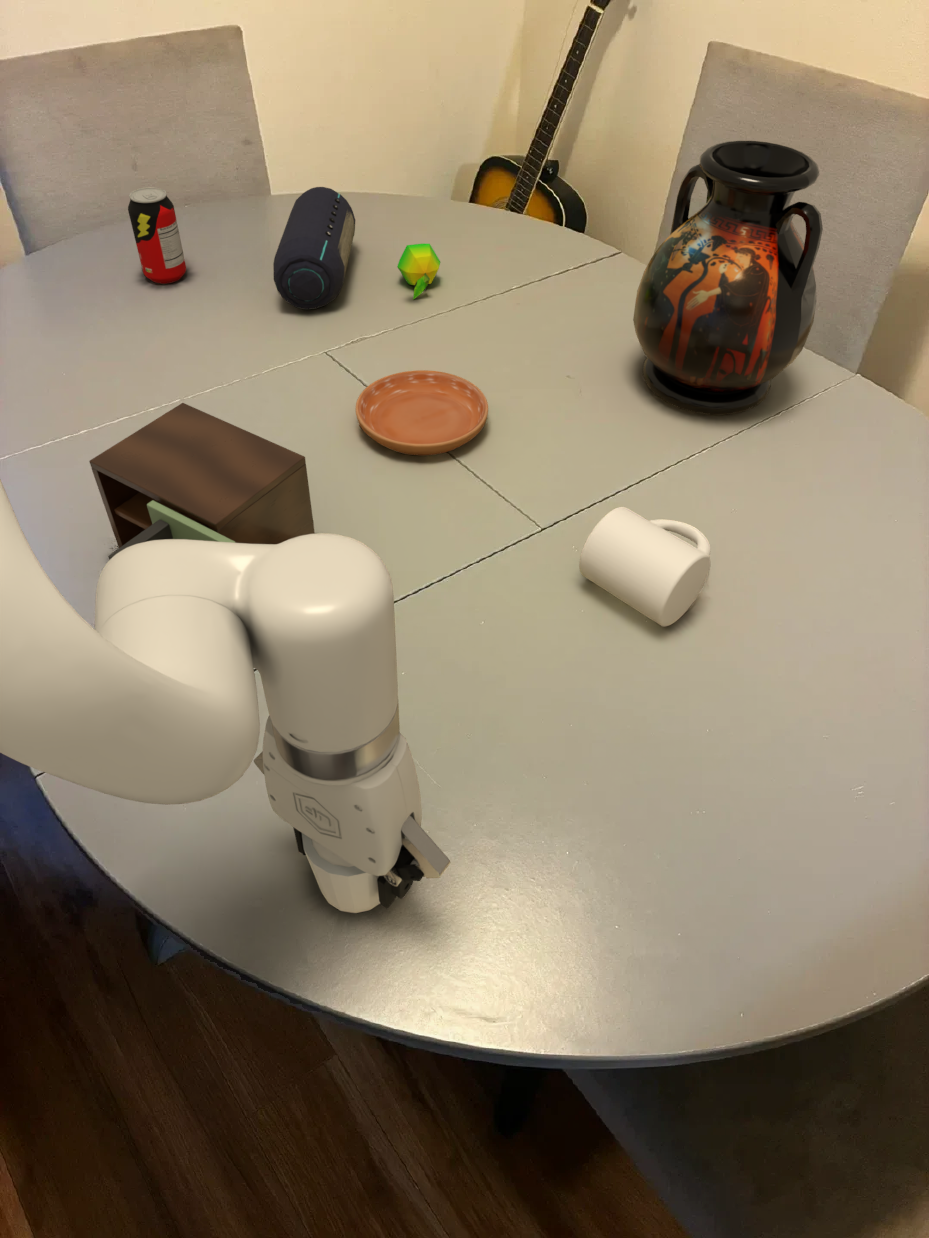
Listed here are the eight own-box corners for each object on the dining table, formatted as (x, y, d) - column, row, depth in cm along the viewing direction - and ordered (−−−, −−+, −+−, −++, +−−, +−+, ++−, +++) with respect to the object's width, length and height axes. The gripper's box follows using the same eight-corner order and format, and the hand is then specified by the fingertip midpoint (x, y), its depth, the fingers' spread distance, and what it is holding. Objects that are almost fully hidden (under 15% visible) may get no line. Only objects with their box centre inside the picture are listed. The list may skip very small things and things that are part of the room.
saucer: (423, 482, 101) (423, 461, 99) (329, 426, 108) (327, 404, 106) (514, 425, 109) (515, 404, 107) (421, 376, 116) (421, 355, 114)
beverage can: (174, 263, 137) (156, 182, 128) (195, 278, 134) (179, 195, 125) (136, 275, 134) (116, 193, 125) (157, 290, 131) (138, 207, 122)
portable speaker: (343, 320, 126) (338, 250, 119) (273, 318, 126) (263, 248, 119) (359, 244, 143) (355, 179, 136) (298, 242, 143) (290, 177, 136)
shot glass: (379, 934, 64) (375, 889, 59) (294, 902, 66) (283, 855, 61) (415, 854, 69) (414, 805, 64) (335, 825, 70) (328, 776, 65)
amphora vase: (588, 377, 117) (620, 151, 97) (691, 328, 127) (740, 113, 107) (718, 453, 106) (785, 215, 86) (820, 392, 116) (902, 166, 96)
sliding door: (203, 675, 80) (177, 587, 72) (125, 630, 84) (92, 540, 76) (254, 630, 84) (235, 541, 76) (178, 588, 88) (152, 499, 80)
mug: (654, 641, 85) (670, 581, 79) (573, 589, 89) (583, 529, 84) (723, 581, 91) (742, 521, 85) (644, 535, 96) (658, 475, 90)
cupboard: (237, 619, 85) (215, 524, 77) (121, 556, 91) (88, 460, 82) (317, 550, 92) (305, 456, 84) (204, 495, 98) (182, 402, 89)
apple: (410, 225, 131) (428, 249, 125) (441, 249, 135) (459, 274, 130) (381, 264, 134) (397, 290, 128) (412, 286, 138) (429, 313, 132)
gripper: (184, 696, 54) (232, 844, 67) (419, 838, 48) (422, 971, 60) (268, 622, 58) (297, 774, 71) (492, 743, 52) (480, 885, 65)
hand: (355, 863), depth 66 cm, fingers closed on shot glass, 6 cm apart
